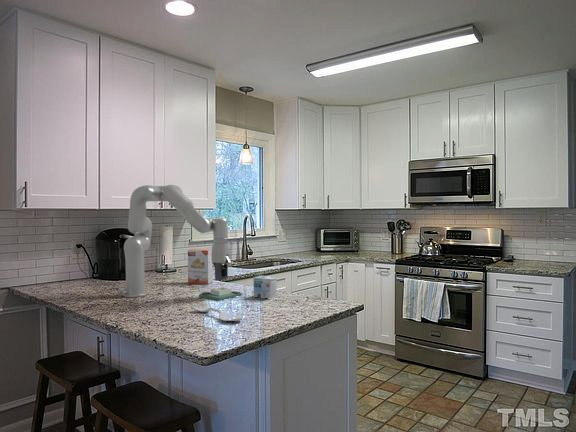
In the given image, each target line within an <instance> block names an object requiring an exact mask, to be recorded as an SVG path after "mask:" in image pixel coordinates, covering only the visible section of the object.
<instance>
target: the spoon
mask: <svg viewBox="0 0 576 432" xmlns="http://www.w3.org/2000/svg"><path fill="white" fill-rule="evenodd" d="M189 308H190V309H192V310H194V311H198V312H201V313H208V312H209V311H213V312H217V313H218V314H219V315H218V319H219V320H221V321H222V320H223V322H226V321H235V322H238V321H241V320H243V318H244V316H242V315H236V314H231V313H229V312H228V313H227V312H225V311H222V310H220V308H215V307H210V305H209V304H208V302H207V301H206V302H204V303H202V304H200V305H197V306H196V305H195V306H194V305H189ZM228 317H237V318H236V319H231V320H226V319H225V318H228Z"/></svg>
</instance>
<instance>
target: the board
mask: <svg viewBox="0 0 576 432" xmlns="http://www.w3.org/2000/svg"><path fill="white" fill-rule="evenodd" d="M241 295H242V296H243V292H241V291H236V290H234V291H232V288H231V287H225V286H219V287H215V288H211V289H210V291H204V292H201V293H199V295H198V297H199V298H202V299H207V300H212V299H213V301H217V300H222V301H225V300H224V299H227V300H230V299H229V298H231V299H233V298H232V297H235V298H237V297H236V296H239V297H242V296H241Z"/></svg>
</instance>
